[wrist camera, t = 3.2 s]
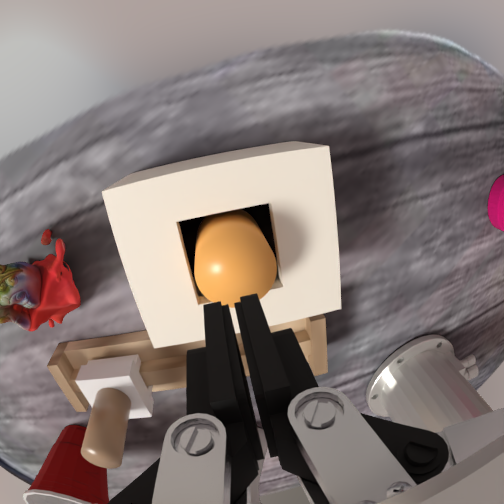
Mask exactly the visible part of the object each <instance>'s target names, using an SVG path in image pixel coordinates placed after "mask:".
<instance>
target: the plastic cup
mask: <svg viewBox="0 0 504 504" xmlns="http://www.w3.org/2000/svg"><path fill="white" fill-rule="evenodd" d="M86 429H87V428H86V427H82V426H79V425H69V426H66V427H65V428H64V430H62V432H61V434H60V436H59V437H58V439H57V441H56V443H55V444H54V445H53V447H52V448H51V450H50V452H49V454H48V456H47V458H46V460H45V462H44V464H43V465H42V467H41V469H40V471H39V473H38V475H37V476H36V478H35V480H34V482H33V483H32V485H31V487H30V488H29V489H28V490H27V491H25V493H24V495H23V499H24V501H25V502H26V503H27V504H108V502H109V498H108V485H107V468H103V467H99V466H96V465H94V464H92V463H90V462H89V461H87V460H86V459H85V458H84V457H83V456H82V454H81V448H82V444H83V440H84V437H85V433H86Z"/></svg>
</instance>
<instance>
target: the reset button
mask: <svg viewBox="0 0 504 504" xmlns="http://www.w3.org/2000/svg"><path fill="white" fill-rule="evenodd" d="M194 274H195V280H196V283H197V286H198V288H199V290H200V291H201V292H202V294H203V295H204V296H205V297H206V298H207V299H209V300H210V301H212V302H213V303H214V302H218V301H221V304H222V305H227V304H228V305H229V307H230V308H235V306H234V303H236V302H241V301H240V297H242V296H246V295H251V294H255V293H257V294H258V297H259V300H260V299H261V298H263V297H264V296H265V295H266V294H267V293H268V292H269V290H270V289H271V287H272V285H273V284H274V281H275V278H276V274H277V263H276V258H275V256H274V253H273V252H272V250H271V248H270V246H269V244H268V242H267V241H266V239H265V237H264V235H263V233H262V232H261V230H260V228H259V226H258V224H257V223H256V221H255V220H254V218H253V217H252V216H251V215H250V214H248V213H247V212H245V211H244V210H241V209H236V210H231V211H226V212H221V213H216V214H211V215H207V216H206V217H205V218H204V219H203V220H202V222H201V223H200V225H199V228H198V231H197V237H196V251H195V267H194Z"/></svg>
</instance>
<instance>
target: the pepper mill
mask: <svg viewBox="0 0 504 504" xmlns="http://www.w3.org/2000/svg"><path fill="white" fill-rule="evenodd" d="M488 216H489V219H490V222H491V223H492V225H493V226H494V227H495V228H497V229H499V230H502V231H504V175H502V176H500V177H499V178H498V179H497V180H496V181H495V182H494V184H493V186H492V188H491V191H490V194H489V199H488Z"/></svg>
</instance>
